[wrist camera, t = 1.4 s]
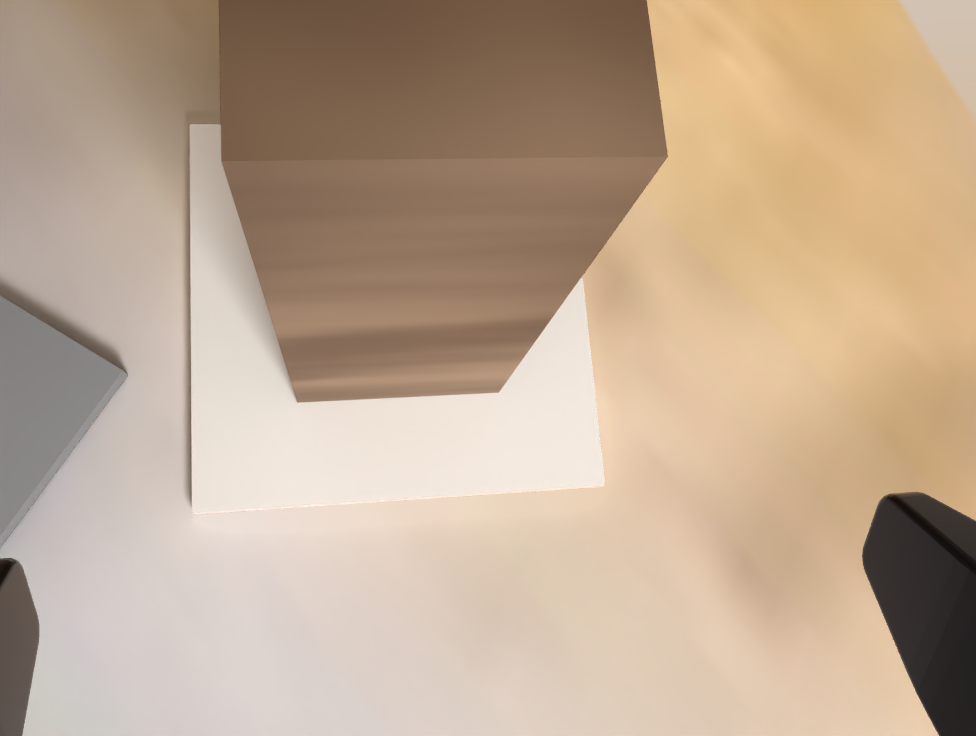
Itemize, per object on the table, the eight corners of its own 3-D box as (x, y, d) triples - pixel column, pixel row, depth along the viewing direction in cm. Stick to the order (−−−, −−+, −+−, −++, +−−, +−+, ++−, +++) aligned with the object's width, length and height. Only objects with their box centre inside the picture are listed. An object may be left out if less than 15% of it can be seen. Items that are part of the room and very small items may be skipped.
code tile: (600, 486, 23) (605, 484, 23) (194, 514, 22) (191, 512, 21) (562, 129, 26) (565, 122, 25) (192, 131, 24) (189, 123, 24)
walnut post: (498, 392, 23) (668, 155, 11) (297, 402, 22) (222, 161, 10) (483, 208, 24) (619, -203, 12) (290, 211, 23) (215, -224, 11)
